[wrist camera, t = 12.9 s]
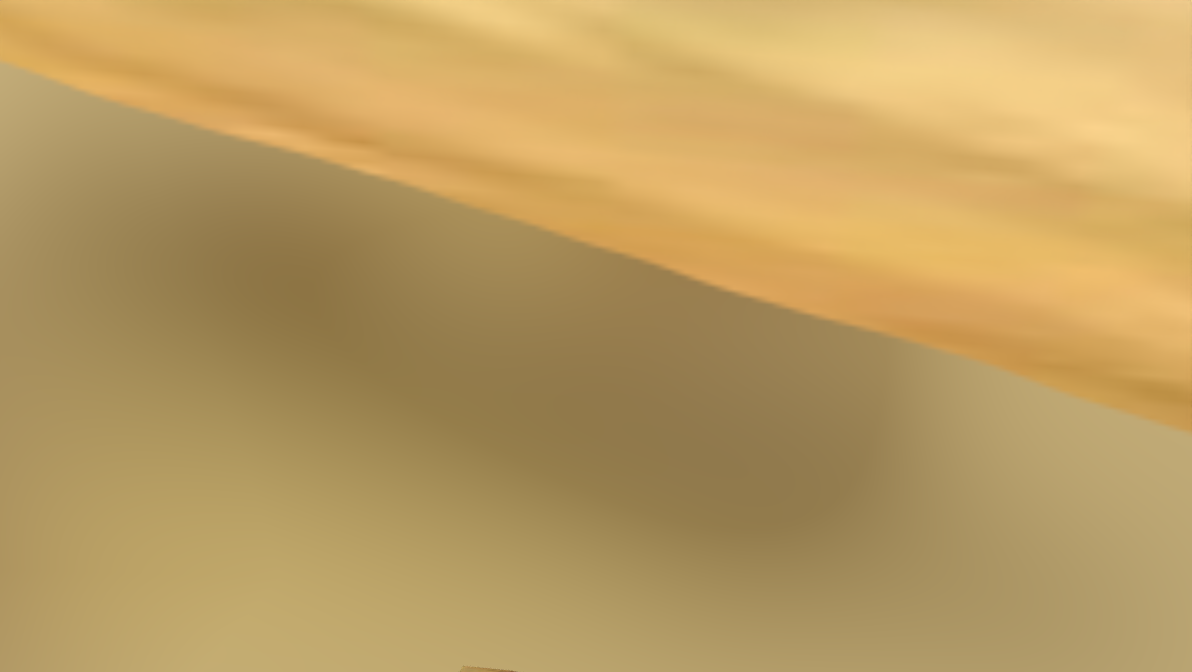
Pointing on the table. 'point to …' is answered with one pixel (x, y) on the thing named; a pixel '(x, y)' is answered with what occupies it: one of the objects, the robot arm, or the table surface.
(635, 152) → the table surface
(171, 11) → the table surface
